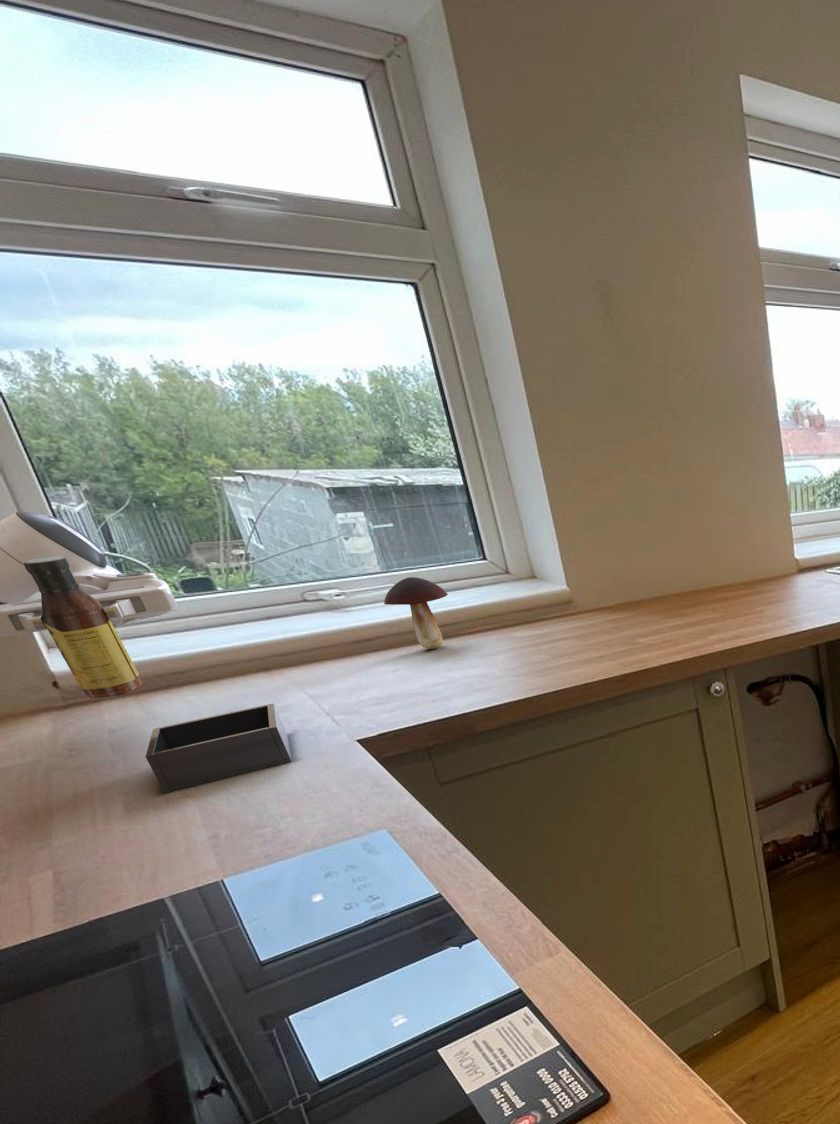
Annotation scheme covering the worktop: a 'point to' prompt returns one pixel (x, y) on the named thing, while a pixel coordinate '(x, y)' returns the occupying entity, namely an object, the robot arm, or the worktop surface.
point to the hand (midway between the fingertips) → (75, 618)
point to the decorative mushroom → (419, 607)
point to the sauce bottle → (82, 631)
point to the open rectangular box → (217, 747)
